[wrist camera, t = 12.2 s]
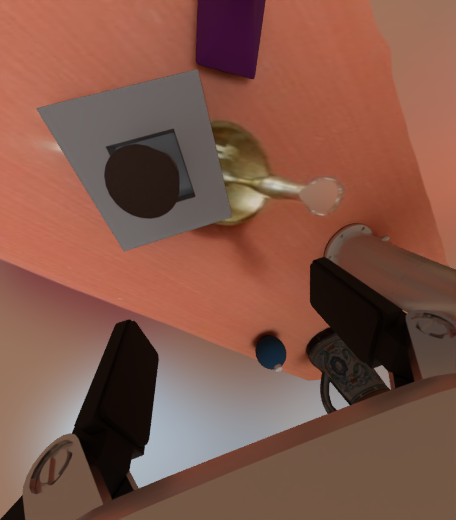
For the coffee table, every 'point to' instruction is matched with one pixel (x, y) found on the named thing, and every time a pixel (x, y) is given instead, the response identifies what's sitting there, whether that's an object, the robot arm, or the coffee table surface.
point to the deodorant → (142, 180)
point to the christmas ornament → (271, 353)
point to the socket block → (153, 135)
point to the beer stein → (342, 370)
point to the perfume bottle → (229, 35)
